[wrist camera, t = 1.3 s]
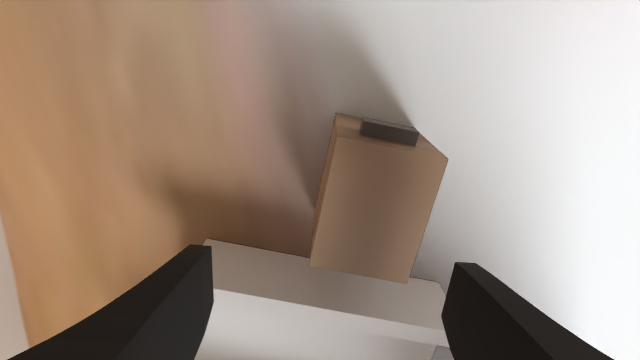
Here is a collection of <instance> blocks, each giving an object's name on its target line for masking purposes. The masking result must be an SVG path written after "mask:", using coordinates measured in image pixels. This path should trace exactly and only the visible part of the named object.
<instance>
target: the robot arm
mask: <svg viewBox="0 0 640 360" xmlns="http://www.w3.org/2000/svg"><path fill="white" fill-rule="evenodd" d="M213 303H214V293H213V269H212V246H204V245H189V246H188V247H186V248H185V249H184V250H182V251H181V252H180V253H178V254H177V255H176V256H175V257H173V258H172V259H171V260H169V261H168V262H167V263H165V264H164V265H163V266H162V267H160V268H159V269H158V270H156V271H155V272H153V273H152V274H151V275H149V276H148V277H147V278H145V279H144V280H143V281H141V282H140V283H139V284H137V285H136V286H134V287H133V288H131V289H130V290H128V291H127V292H125V293H124V294H122V295H121V296H120V297H118V298H117V299H115V300H114V301H112V302H111V303H109V304H108V305H106V306H105V307H103V308H102V309H100V310H98V311H97V312H95V313H94V314H92V315H90V316H89V317H87V318H85V319H84V320H82V321H80V322H78V323H77V324H75V325H73V326H71V327H70V328H68V329H66V330H64V331H63V332H61V333H59V334H57V335H55V336H53V337H52V338H50V339H48V340H46V341H44V342H42V343H40V344H38V345H36V346H34V347H32V348H30V349H28V350H26V351H24V352H22V353H20V354H18V355H16V356H14V357H12V358H10V359H8V360H194V359H195V356H196V354H197V352H198V349H199V347H200V344H201V342H202V340H203V337H204V335H205V331H206V328H207V325H208V321H209V318H210V314H211V311H212V307H213ZM441 318H442V322H443V326H444V330H445V333H446V337H447V340H448V344H449V347H450V350H451V353H452V355H453V358H454V360H614V359H612V358H610V357H609V356H607V355H605V354H604V353H602V352H600V351H599V350H597V349H596V348H594V347H592V346H591V345H589V344H588V343H586V342H585V341H583V340H582V339H580V338H579V337H577V336H576V335H574V334H573V333H571V332H570V331H568V330H567V329H565V328H564V327H562V326H561V325H560V324H558V323H557V322H555V321H554V320H552V319H551V318H550V317H548V316H547V315H545V314H544V313H543V312H541V311H540V310H539V309H537V308H536V307H534V306H533V305H532V304H530V303H529V302H528V301H526V300H525V299H524V298H522V297H521V296H520V295H518V294H517V293H516V292H514V291H513V290H512V289H510V288H509V287H508V286H507V285H505V284H504V283H503V282H501V281H500V280H499V279H497V278H496V277H495V276H493V275H492V274H491V273H489V272H488V271H486V270H485V269H483V268H482V267H481V266H479V265H477V264H476V263H463V262H455V265H454V269H453V273H452V276H451V280H450V284H449V288H448V291H447V295H446V299H445V302H444V306H443V310H442V314H441Z"/></svg>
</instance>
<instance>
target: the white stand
mask: <svg viewBox="0 0 640 360" xmlns="http://www.w3.org/2000/svg"><path fill="white" fill-rule="evenodd" d="M203 245H204V246H212V269H213V293H214V303H213V307H212V311H211V314H210V318H209V321H208V325H207V328H206V331H205V335H204V337H203V340H202V342H201V344H200V347H199V349H198V352H197V354H196V356H195V359H194V360H431V359H432V356H433V354H434V351H435V349H436V346H437V345H438V346H443V347H449V344H448V340H447V337H446V333H445V330H444V326H443V322H442V318H441V314H442V310H443V306H444V302H445V299H446V296H445V294H444V292H443V290H442V288H441V286H440V283H439V282H434V281H428V280H423V279H418V278H412V277H409V279H408V282H407V284H402V283H397V282H392V281H386V280H381V279H376V278H370V277H365V276H360V275H354V274H349V273H344V272H338V271H333V270H328V269H322V268H317V267H312V266H309V262H310V258H307V257H301V256H296V255H291V254H285V253H280V252H275V251H270V250H264V249H259V248H254V247H248V246H243V245H238V244H232V243H227V242H222V241H217V240H211V239H206V241H205V242H204V244H203ZM449 348H450V347H449Z"/></svg>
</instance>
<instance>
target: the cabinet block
mask: <svg viewBox="0 0 640 360" xmlns="http://www.w3.org/2000/svg"><path fill="white" fill-rule="evenodd" d="M447 162H448V158H447V157H445V156H444V155H443V154H442V153H441V152H440V151H439V150H438V149H437V148H436V147H434V146H433V145H432V144H431V143H430V142H429V141H428V140H427V139H426V138H424V137H423V136H422V135H421V134H420V132H418V131H417V130H416V129H415V128H413V127H408V126H403V125H398V124H393V123H388V122H383V121H378V120H374V119H369V118H364V117H362V118H358V117H353V116H348V115H343V114H338V113H335V118H334V123H333V128H332V132H331V137H330V142H329V146H328V151H327V156H326V161H325V165H324V170H323V175H322V179H321V184H320V189H319V194H318V198H317V203H316V208H315V214H314V223H313V233H312V243H311V252H310V262H309V266H312V267H317V268H322V269H328V270H333V271H338V272H344V273H349V274H354V275H360V276H365V277H370V278H376V279H381V280H386V281H392V282H397V283H402V284H407V282H408V279H409V276H410V273H411V270H412V267H413V264H414V261H415V258H416V255H417V252H418V249H419V246H420V243H421V240H422V237H423V234H424V231H425V228H426V225H427V222H428V219H429V216H430V213H431V210H432V207H433V204H434V201H435V198H436V195H437V192H438V189H439V186H440V183H441V180H442V177H443V174H444V171H445V168H446V165H447Z"/></svg>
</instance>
